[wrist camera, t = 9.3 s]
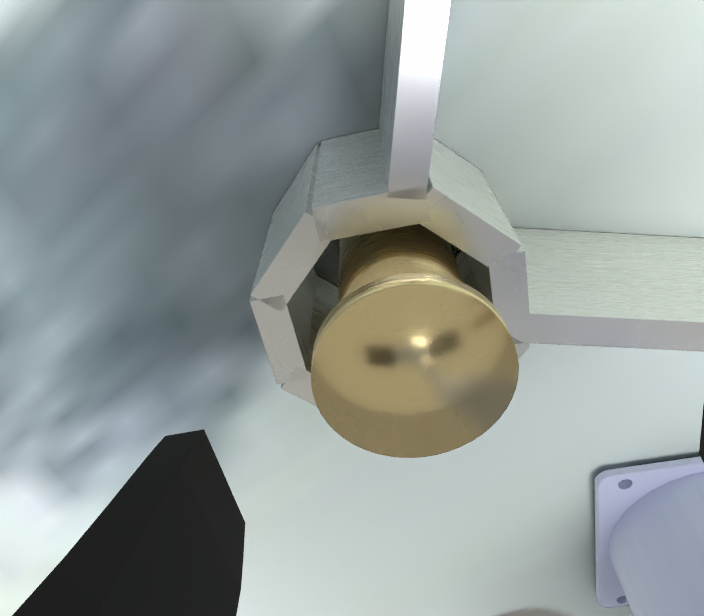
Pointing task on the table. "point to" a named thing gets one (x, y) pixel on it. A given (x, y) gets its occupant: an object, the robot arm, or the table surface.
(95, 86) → the table surface
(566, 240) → the steel hinge
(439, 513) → the table surface
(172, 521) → the robot arm
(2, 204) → the table surface
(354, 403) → the hinge pin
